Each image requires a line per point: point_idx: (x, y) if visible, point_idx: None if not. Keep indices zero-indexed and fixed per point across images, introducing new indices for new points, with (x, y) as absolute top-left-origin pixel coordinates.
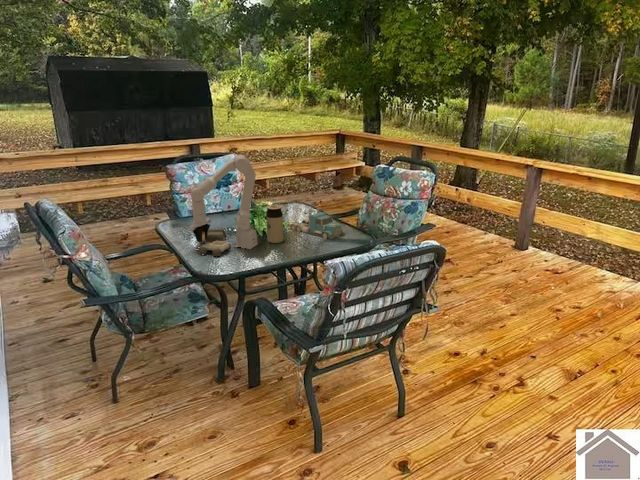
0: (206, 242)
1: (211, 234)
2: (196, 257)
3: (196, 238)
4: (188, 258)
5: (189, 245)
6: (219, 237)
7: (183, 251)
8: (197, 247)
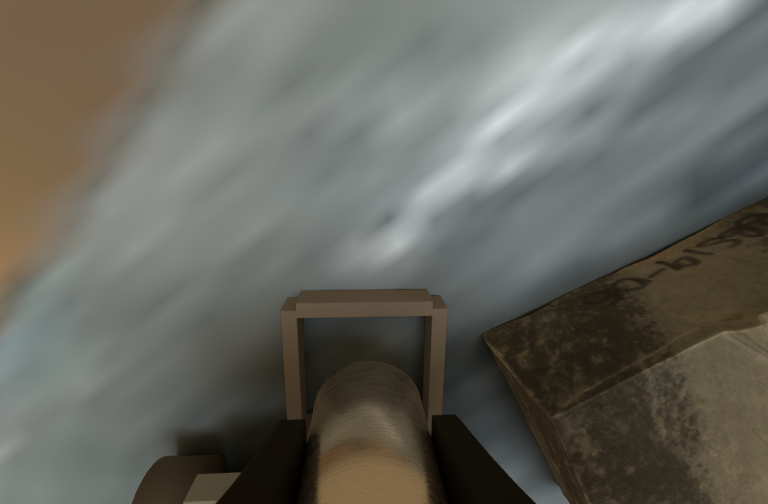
0: (506, 364)
1: (706, 428)
2: (90, 457)
3: (251, 463)
4: (7, 397)
5: (438, 87)
6: None
7: (180, 169)
8: (336, 313)
